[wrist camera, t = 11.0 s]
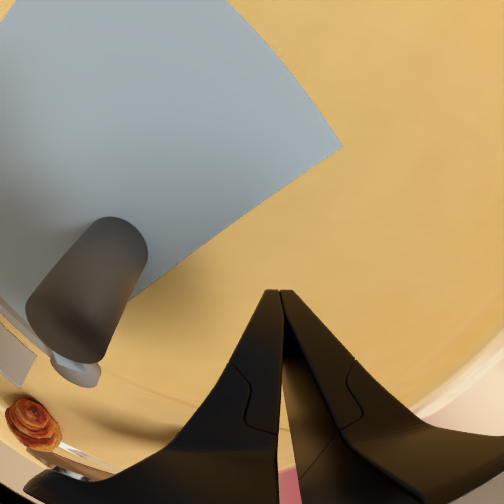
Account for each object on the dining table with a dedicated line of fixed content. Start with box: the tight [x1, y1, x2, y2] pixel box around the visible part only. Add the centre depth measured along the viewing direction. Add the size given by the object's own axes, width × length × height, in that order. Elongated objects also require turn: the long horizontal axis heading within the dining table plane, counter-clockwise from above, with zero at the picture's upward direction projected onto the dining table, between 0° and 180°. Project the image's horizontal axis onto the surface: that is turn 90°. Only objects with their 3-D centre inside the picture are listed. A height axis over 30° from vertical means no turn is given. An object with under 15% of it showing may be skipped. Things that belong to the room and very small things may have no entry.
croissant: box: [5, 398, 62, 452], centre depth 28 cm, size 21×10×8 cm, turn 145°
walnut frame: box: [26, 447, 114, 481], centre depth 49 cm, size 25×27×3 cm
